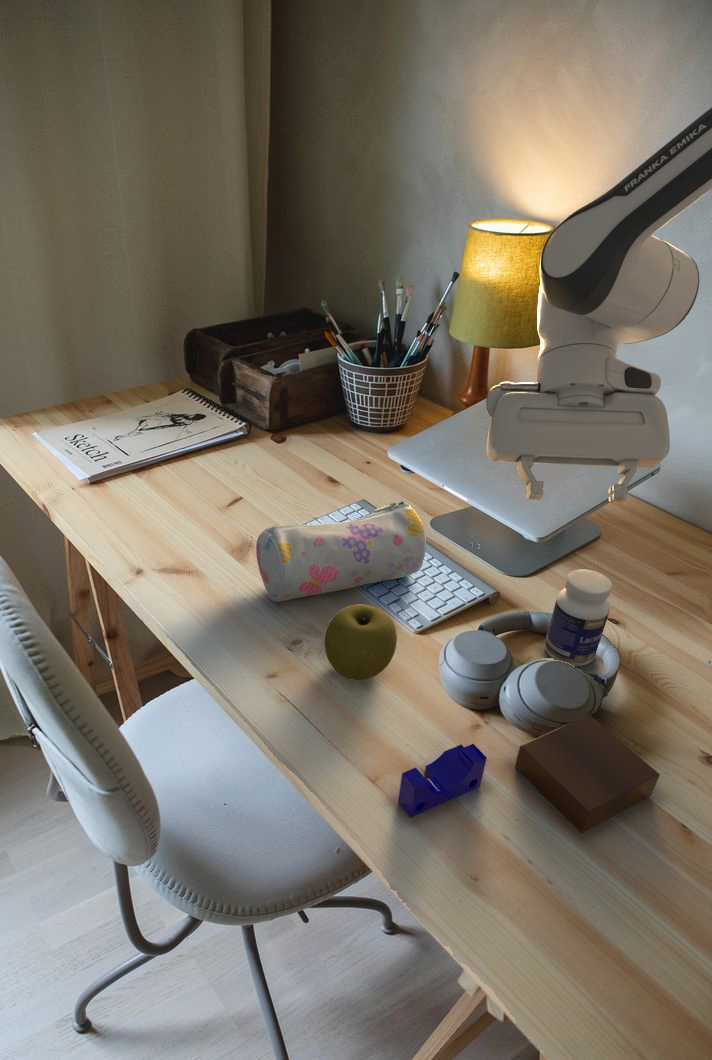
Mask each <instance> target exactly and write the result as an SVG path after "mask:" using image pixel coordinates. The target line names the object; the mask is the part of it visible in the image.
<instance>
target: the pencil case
mask: <svg viewBox="0 0 712 1060" xmlns="http://www.w3.org/2000/svg"><path fill="white" fill-rule="evenodd" d="M426 537H427V536H426V532H425V527H424V525H423V522H422V520H421V518H420V516H419V515H418V514H417V512H416V510H415V509H414V508H413V507H411V504H410V503H406V502H404V501H402V500H399V501H397V502H396V501H393V502H391V503H390V504H388V505H385V506H382V507H381V506H380V507H378V508H375V509H374V510H373V512H372V513H371V514H368V515H364V516H362V517H359V518H355V519H351V520H347V521H346V520H345V521H339V522H338V521H335V522H322V523H313V524H289V525H273V526H271V527H268V528H266V529H264V530H263V531H262V532H261V533H260V534H259V535H258V537H257V538H256V539H257V540H256V545H255V552H256V553H255V554H256V562H257V566H258V570H259V574H260V578H261V580H262V583H263V586H264V588H265V590H266V593H267V595H268V598H270V599H271V601H272V602H274V603H280V602H287V601H289V600H293V599H300V598H305V597H308V596H309V597H310V596H317V595H322V594H328V593H333V592H337V591H342V590H347V589H351V588H355V587H359V586H362V585H367V584H374V583H380V582H384V581H389V580H394V579H401V578H406V577H408V576H411V575H414V574H416V573H418V572H419V571H420V570H421V568H422V567H423V564H424V560H425V557H426V551H427V538H426ZM413 573H414V574H413ZM407 575H408V576H407ZM402 576H403V577H402ZM392 578H393V579H392Z"/></svg>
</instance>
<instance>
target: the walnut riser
mask: <svg viewBox="0 0 712 1060" xmlns="http://www.w3.org/2000/svg"><path fill="white" fill-rule="evenodd" d="M514 768H515V770H517V771H518V772H519V773H520V774H521V775H522V776H523V777H524V778H525V779H526V780H527V781H528V782H529V783H530V784H531V785H532V786H533V787H534V788H535V789H536V791H538V792H539V793H540V794H542V796H543V797H544V798H545V799H546V800H547V801H548V802H549V803H550V804H552V805H553V806H554V807H555V809H556V810H558V812H560V813H561V814H562V815H563V816H564V817H565V818H566V819H567V820H568V821H569V822H570V823H571V824H572V825H573V827H575V828H576V829H577V830H578V831H579V832H580V833H584V832H586V831H588V830H591V829H592V828H594V827H595V826H597V825H599V824H601V823H603V822H605V821H607V820H608V819H610V818H612V817H615V816H616V815H618V814H620V813H621V812H624V811H626V810H627V809H629V808H631V807H633V806H635V805H636V804H638V803H640V802H642V801H644V800H646V799H648V798H650V797H651V796H652V795H653V792H654V790H655V787H656V785H657V782H658V780H659V778H660V775H661V774H660V773H659V772H658V771H657V770H655V768H654V767H652V766H651V765H650V764H649V763H647V762H646V761H645V760H643V759H642V758H641V757H640V756H639V755H638V754H637V753H635V752H634V751H633V750H632V749H631V748H630V747H628V746H627V745H626V744H624V743H623V741H622V740H619V738H618V737H616V736H615V735H614V734H613V733H612V732H610V731H609V730H608V729H607V728H605V727H604V726H603V725H602V724H601V723H599V722H598V721H597V720H596V719H595V718H594V717H592V716H591V715H590V714H587V715H585V716H584V715H583V716H582V717H580V718H577V719H576V720H572V721H571V722H569V723H567V724H565V725H563V726H561V727H558V728H556V729H554V730H552V731H550V732H548V733H545V734H543V735H540V736H539V737H537V738H534V739H532V740H530V741H528V742H525V743H523V744H521V745H520V746H519V749H518V752H517V757H516V760H515V764H514Z"/></svg>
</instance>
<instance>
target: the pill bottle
mask: <svg viewBox="0 0 712 1060" xmlns="http://www.w3.org/2000/svg"><path fill="white" fill-rule="evenodd" d="M564 583H565V584H564V586H565V587H564V588H563V589H562V590H561V591H560V592H559V593H558V595H557V596H556V600H555V604H554V607H553V611H552V614H551V618H550V621H549V625H548V629H547V632H546V636H545V640H544V649H545V652H546V653H547V654H548V656H549V657H550V658H552V659H553V660H554V661H556V660H559V661H563V662H567V663H569V664H571V665H573V666H572V667H582V666H586V665H588V664H590V663H591V662H593V661H594V659H595V657H596V655H597V652H598V649H597V648H599V646H600V643H601V639H602V636H603V633H604V631H605V626H606V625H607V621H608V617H609V614H610V611H611V603H610V600H609V597H610V595H611V592H612V589H613V583H612V581H611V580H610V579H609V578H608V577H607V576H606V575H605V574H603V573H600V572H598V571H595V570H591V569H584V568H583V569H582V568H581V569H580V568H579V569H575V570H572V571H570V572H569V573H568V574H567V577H566V581H565V582H564ZM598 645H599V646H598ZM596 651H597V652H596Z"/></svg>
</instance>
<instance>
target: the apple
mask: <svg viewBox="0 0 712 1060" xmlns="http://www.w3.org/2000/svg"><path fill="white" fill-rule="evenodd" d="M323 641H324V642H323V643H324V644H323V645H324V651H325V655H326V658H327V660H328V663H329V664H330V666H331V667H332V668H333V670H334V671H335V672H336V673H337V674H339V675H340V676H342V677H343V678H344V679H348V680H351V681H365V680H369V679H371V678H373V677H375V676H377V675H379V674H381V672H383V671H384V670H385V669H386V668H387V667H388V666H389V664H390V663H391V661H392V659H393V658H394V655H395V652H396V648H397V643H398V642H397V641H398V632H397V627H396V625H395V622H394V621H393V619H392V617H391V616H390V615H389V614H387V613H386V612H385V611H384V610H381V609H380V608H378V607H375V606H372V605H368V604H361V603H358V604H352V605H348V606H346V607H344V608H341V609H340V610H339V611H338V612H337V613H335V614H334V616H333V617H332V618H331V619H330V621H329V622H328V625H327V626H326V630H325V633H324V640H323Z"/></svg>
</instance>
